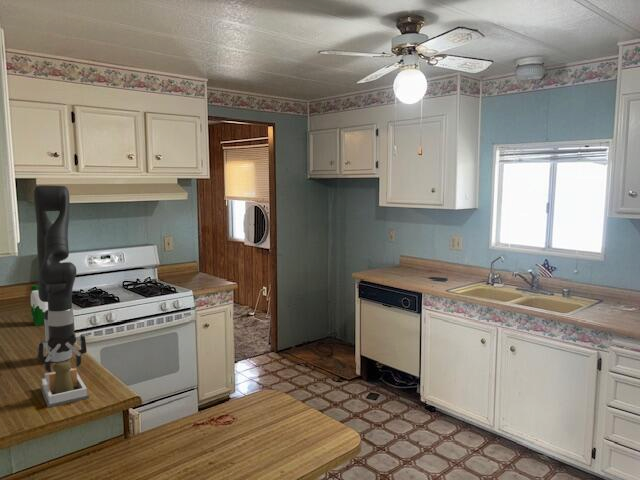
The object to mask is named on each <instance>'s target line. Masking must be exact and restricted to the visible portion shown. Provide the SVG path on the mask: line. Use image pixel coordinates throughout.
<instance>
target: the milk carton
mask: <svg viewBox="0 0 640 480" xmlns="http://www.w3.org/2000/svg"><path fill="white" fill-rule="evenodd" d="M30 309H31V310H30V313H31V318H32V322H33V325H34V327H38V326H39V327H40V326H45V323H44V312H45V311H46V310H48V302H42V301H41V300H40V298H39V294H38V284H33V285H30Z"/></svg>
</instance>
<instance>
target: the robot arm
mask: <svg viewBox="0 0 640 480" xmlns="http://www.w3.org/2000/svg"><path fill="white" fill-rule="evenodd" d="M70 199H71V198H70V193H69V189H68V188H67V186H65V185H53V184H50V185H48V184H47V185H44V184H43V185H42V184H39V185H36V186H35V187H34V190H33V203H34V213H35V220H36V249H37V250H36V251H37V252H36V253H37V261H38V280H37V281H38V283H37V285H38V294H39V298H40V300H41V301H42V302H48V310H46V311H45V312H44V323H45V325H44V337H45V338H44V339H45V341H38V343H37V360H38V361H39V362H44V368H45V371H46V372H47V373H51V372H52V371H51V363H57V362H59V361H69V360H70V359H71V358H73V354H75V366H76V367H79V368H80V365H81V364H82V355H83V354H86V353H87V345H86V344H87V343H86V342H87V341H86V337H85V335H84V334H80V335H79V336H76V335H75V316H74V311H73V301H72V300H73V299H72V298H73V295H72V294H73V288H74V284H75V280H76V277H77V267H76V266H75V264H74V263H73V262H70V261H68V262H66V261H65V260H66V259H68V258H69V255H70V250H69V238H68V237H69V236H68V234H69V223H70V222H69V221H70V201H71V200H70ZM47 212H59V213H58V216H57V217H56V219H55V220H54V222H52V221H51V219H50V218H49V216H48V215H47ZM62 261H63V262H62ZM64 261H65V262H64ZM76 342H78V343H80V349H79V350H78V348H76V346H75V345H74V344H75V343H76ZM44 350H45V356H44Z"/></svg>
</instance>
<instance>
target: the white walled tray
mask: <svg viewBox="0 0 640 480" xmlns="http://www.w3.org/2000/svg"><path fill="white" fill-rule="evenodd" d="M71 369H75V368H72V367H71ZM54 372H55V371H51V372H46V373H44V377H42V378H41V385H40V390H41V393H42V395H43V398H44V400H45V403H46V406H47V408H53V407H56V406H61V405H64V404H66V405H67V404H70V403H73V402H74V403H75V402H79V401H82V400H87V399H89V398H90V395H89V393H88V388H87V387H86V385H85V382H83V380H82V378H81V376H80V375H79V373H78V372H77V387H73V389H74V390H72V391H67V392H63V393H58V394H54V392H51V391H50V388H49V377H48V374H49V373H54Z"/></svg>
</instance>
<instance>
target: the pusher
mask: <svg viewBox="0 0 640 480" xmlns="http://www.w3.org/2000/svg"><path fill="white" fill-rule="evenodd" d="M53 372H54V373H51V372H48V373H49V374H48V377H49V388H50V391H51V392H54V387H55V376H56V372H55V371H53ZM77 373H78V371H77V368H76V367H75V368H74V369H70V375H71V379H72V384H73V387H77Z"/></svg>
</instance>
